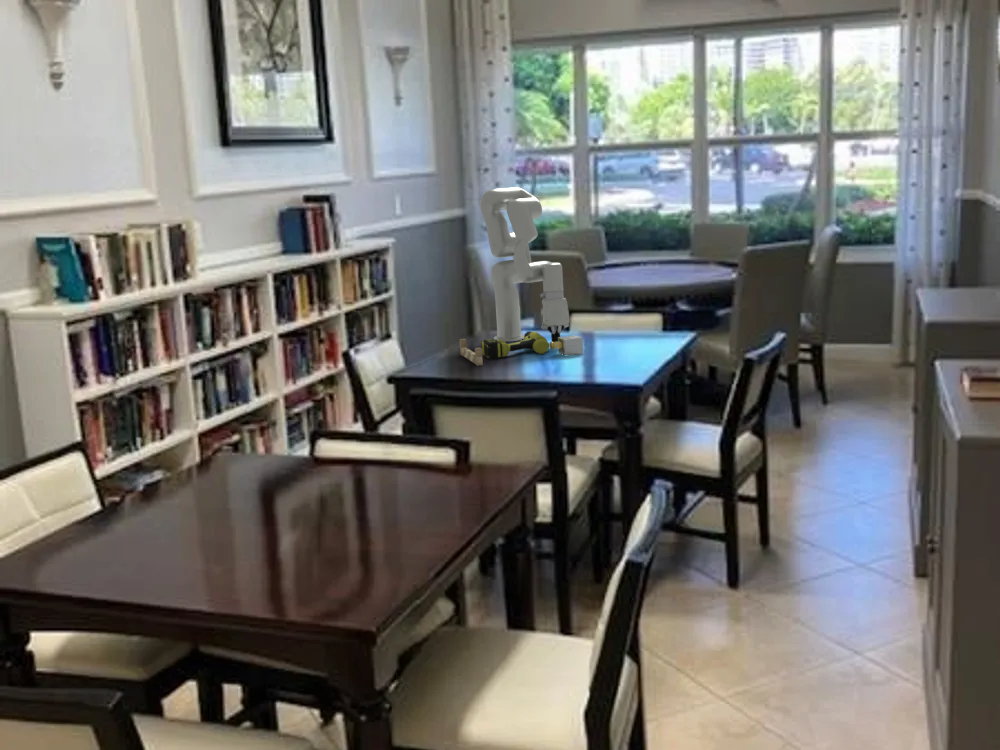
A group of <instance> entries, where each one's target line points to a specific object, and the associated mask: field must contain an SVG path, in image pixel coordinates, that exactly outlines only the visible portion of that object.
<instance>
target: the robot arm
mask: <svg viewBox="0 0 1000 750" xmlns="http://www.w3.org/2000/svg"><path fill="white" fill-rule="evenodd" d="M479 204H480V205H479V206H480V207H479V208H480V212H481V216H482V218H483V220H484V223H485V227H486V233H487V239H488V244H489V248H490V253H491V255H492V256H493V257H495V258H497V259H498V258H499V259H501V258H502V259H504V258H510V257H513V259H508V260H501V261H498V262H496V263H495V264H493V265H492V266H491V270H490V276H491V280H492V284H493V290H494V299H495V300H494V301H495V302H494V303H495V317H496V331H497V332H496V333H497V334H496V335H495V336H494V337H493V339H494V340H499V339H500V340H502V341H503V342H505V343H507V342H508V343H509V342H510V343H511V342H519V341H521V340H522V339H523V340H524V335H525V334H523V333H522V326H521V325H522V324H521V309H520V308H521V306H520V296H519V292H518V290H517V288H516V287H515V284H521V283H526V284H531V283H537V282H542V286H543V290H542V293H540V294H539V296H540V297H539V298H542V300H541V308H540V321H541V322H540V323H541V329H542V330H547V332H549V333H550V336H551V339H550V340H551V342H557V341H558V337H561V333H562V331H563V330H564V329H565V328H568V327H569V326H570V312H569V306H568V301H567V298H566V297H564V278H563V277H564V275H563V274H564V273H563V266H562V264H561V262H554V261H553V262H551V261H549V260H540V261H532V257H531V250H530V246H529V245H530V243H531V242H534V240H536V239H537V237H538V236H539V234H538V230H537V227H536V225H535V223H534V220H536V219H538V218H540V217H541V216H542V214H543V213H542V212H543V208H542V207H543V206H542V203H541V202H540V201H539V199H538V198H537V197H536V196H534V195H533V194H532V193H529V191H526V190H525V189H523V188H521V187H517V186H513V187H498V188H492V189H488V190H487V191H485V192H484V193H483V194H482V196H481V197H480V203H479ZM504 210H506V214H507V216H508V219H509V223H510V224H511V227H512V228H511V229H513V232H510V231H509V224H508V221H507V219H506V217H505V216H504V215H503V214H502V212H500V211H504Z"/></svg>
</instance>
